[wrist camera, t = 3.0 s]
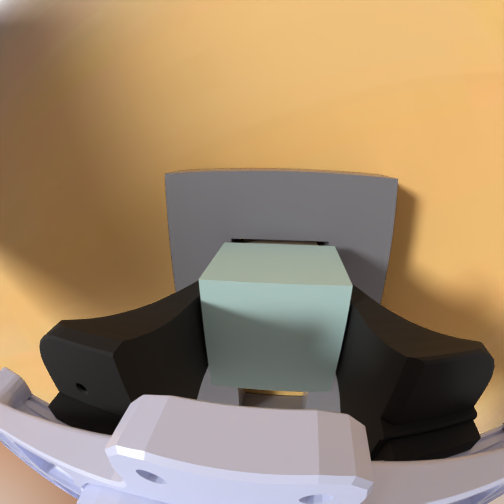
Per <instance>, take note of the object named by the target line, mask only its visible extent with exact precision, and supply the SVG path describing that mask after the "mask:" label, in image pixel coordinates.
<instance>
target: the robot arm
mask: <svg viewBox="0 0 504 504" xmlns="http://www.w3.org/2000/svg"><path fill="white" fill-rule="evenodd" d="M352 285H353V284H352ZM40 353H41V357H42V360H43V362H44V365H45V366H46V368H47V370H48V372H49V374H50V376H51V378H52V380H53V381H54V383H55V385H56V387H57V389H58V390H59V393H58V394H57V396H56V397H55V398H54V399H53V401H52V402H51V403H50V404H49V403H47V402H45V401H43V400H42V399H40V398H38V397H36V396H35V395H33V394H31V391H30V389H29V387H28V385H27V384H26V382H25V381H24V380H23V379H22V378H21V377H20V376H19V375H17V374H16V373H14V372H13V371H11V370H9V369H8V368H6V367H4V368H2V369H1V370H0V441H1V442H2V443H3V444H4V445H5V446H6V447H7V448H8V449H9V450H10V451H12V452H13V453H14V454H15V455H16V456H17V457H19V458H20V459H21V460H23V461H24V462H25V463H26V464H27V465H29V466H30V467H31V468H32V469H34V470H35V471H37V472H38V473H39V474H41V475H42V476H43V477H45V478H46V479H47V480H49V481H50V482H52V483H53V484H55V485H56V486H58V487H59V488H61V489H62V490H64V491H65V492H67V493H68V494H70V495H71V496H73V497H75V498H76V499H78V501H77V503H76V504H487V503H489V502H491V501H493V500H494V499H496V498H498V497H499V496H501V495H503V494H504V423H503V425H501V426H499V427H497V428H495V429H492V430H490V431H488V432H485V433H483V434H479V432H478V430H477V427H476V425H475V423H474V421H473V420H474V419H475V418H476V417H477V412H476V410H475V408H474V405H475V404H476V402H477V401H478V399H479V398H480V396H481V395H482V393H483V392H484V390H485V389H486V387H487V385H488V383H489V381H490V379H491V377H492V374H493V370H494V359H493V358H492V356H491V355H490V353H489V352H488V351H487V349H486V348H485V346H484V345H483V344H482V343H481V342H477V341H471V340H466V339H460V338H455V337H451V336H447V335H444V334H440V333H437V332H434V331H431V330H428V329H426V328H423V327H421V326H418V325H416V324H414V323H412V322H409V321H407V320H406V319H404V318H402V317H400V316H398V315H396V314H394V313H393V312H391V311H389V310H388V309H386V308H385V307H383V306H382V305H380V304H379V303H377V302H376V301H375V300H373V299H372V298H370V297H369V296H368V295H366V294H365V293H364V292H363V291H361V290H360V289H359V288H357V287H356V286H355V285H353V287H352V293H351V299H350V305H349V311H348V316H347V322H346V327H345V332H344V337H343V341H342V346H341V351H340V355H339V359H338V364H337V368H336V377H337V382H338V388H339V396H340V411H341V413H338V412H330V411H323V410H317V409H277V408H261V407H249V406H239V405H230V404H222V403H214V402H207V401H201V400H197V397H198V394H199V390H200V387H201V384H202V381H203V378H204V375H205V373H206V371H207V368H208V366H209V365H208V357H207V350H206V342H205V334H204V326H203V317H202V308H201V298H200V288H199V280H198V281H196V282H194V283H192V284H191V285H189V286H187V287H185V288H183V289H182V290H180V291H178V292H176V293H174V294H172V295H170V296H168V297H166V298H164V299H162V300H159V301H157V302H155V303H152V304H150V305H147V306H144V307H141V308H138V309H135V310H131V311H127V312H124V313H120V314H116V315H111V316H106V317H99V318H92V319H79V320H62V321H60V322H59V323H58V324H57V325H56V326H54V327H53V328H52V329H51V330H50V331H49V332H48V333H47V334H46V335H44V336H43V338H42V339H41V340H40Z"/></svg>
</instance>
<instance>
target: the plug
mask: <svg viewBox="0 0 504 504" xmlns="http://www.w3.org/2000/svg"><path fill="white" fill-rule="evenodd" d="M352 287H353V285H352V283H351V281H350V279H349V276H348V274H347V272H346V270H345V267H344V265H343V263H342V261H341V259H340V256H339V254H338V252H337V250H336V248H335V246H319V245H317V241H294V240H265V239H245V240H244V242H243V243H230V242H224V244H223V245H222V247H221V248H220V249H219V251H218V252H217V254H216V255H215V257H214V258H213V259H212V261H211V262H210V264H209V265H208V267H207V268H206V270H205V271H204V272H203V274H202V275H201V277H200V278H199V288H200V298H201V308H202V317H203V326H204V334H205V342H206V350H207V357H208V365H209V372H210V378H211V385H218V386H227V387H236V388H246V389H258V390H273V391H298V392H330V391H331V387H332V384H333V380H334V376H335V372H336V368H337V364H338V359H339V355H340V351H341V346H342V341H343V337H344V332H345V327H346V322H347V316H348V311H349V305H350V299H351V293H352Z"/></svg>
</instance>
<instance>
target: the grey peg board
mask: <svg viewBox="0 0 504 504" xmlns="http://www.w3.org/2000/svg"><path fill="white" fill-rule="evenodd" d="M165 186H166V202H167V215H168V227H169V238H170V248H171V257H172V266H173V274H174V282H175V289H176V292H178V291H180V290H182V289H183V288H185V287H187V286H189V285H191V284H192V283H194V282H196V281H198V280H199V278H200V277H201V275H202V274H203V272H204V271H205V270H206V268H207V267H208V265H209V264H210V262H211V261H212V259H213V258H214V257H215V255H216V254H217V252H218V251H219V249H220V248H221V247H222V245H223V244H224V242H230V243H240V239H265V240H294V241H321V242H322V246H335V248H336V250H337V252H338V254H339V256H340V259H341V261H342V263H343V265H344V267H345V270H346V272H347V274H348V276H349V279H350V281H351V283H352V284H353V285H355V286H356V287H357V288H359V289H360V290H361V291H363V292H364V293H365V294H366V295H368V296H369V297H370V298H372V299H373V300H375V301H376V302H377V303H379V304H380V303H381V298H382V294H383V289H384V284H385V279H386V273H387V268H388V262H389V256H390V250H391V243H392V236H393V228H394V219H395V210H396V199H397V187H398V179H396V178H392V177H388V176H384V175H378V174H368V173H357V172H344V171H329V170H310V169H279V168H228V169H197V170H181V171H176V172H171V173H166V174H165ZM197 400H201V401H207V402H214V403H222V404H230V405H239V406H249V407H261V408H277V409H317V410H323V411H330V412H338V413H341V411H340V396H339V388H338V382H337V377H336V372H335V376H334V380H333V384H332V387H331V391H330V392H303V396H280V395H263V394H250V393H245V392H244V388H236V387H227V386H218V385H211V378H210V372H209V366H208V368H207V371H206V373H205V375H204V378H203V381H202V384H201V387H200V390H199V394H198V397H197Z"/></svg>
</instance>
